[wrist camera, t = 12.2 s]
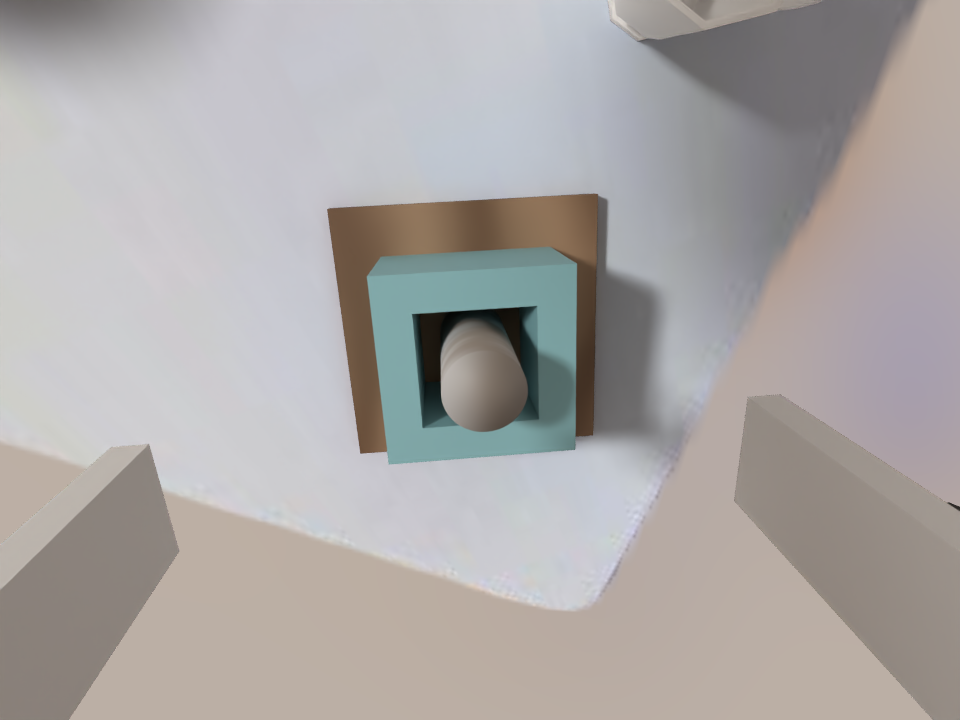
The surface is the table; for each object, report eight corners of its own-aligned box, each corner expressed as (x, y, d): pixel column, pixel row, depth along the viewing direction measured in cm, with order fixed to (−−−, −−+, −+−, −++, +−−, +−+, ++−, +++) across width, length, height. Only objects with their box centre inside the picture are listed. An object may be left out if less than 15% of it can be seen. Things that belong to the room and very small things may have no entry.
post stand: (362, 447, 33) (332, 552, 24) (330, 208, 28) (277, 223, 19) (589, 429, 34) (646, 525, 24) (593, 193, 29) (665, 201, 20)
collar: (397, 412, 32) (388, 464, 26) (380, 256, 29) (366, 276, 23) (551, 401, 32) (575, 449, 26) (549, 246, 29) (577, 263, 23)
